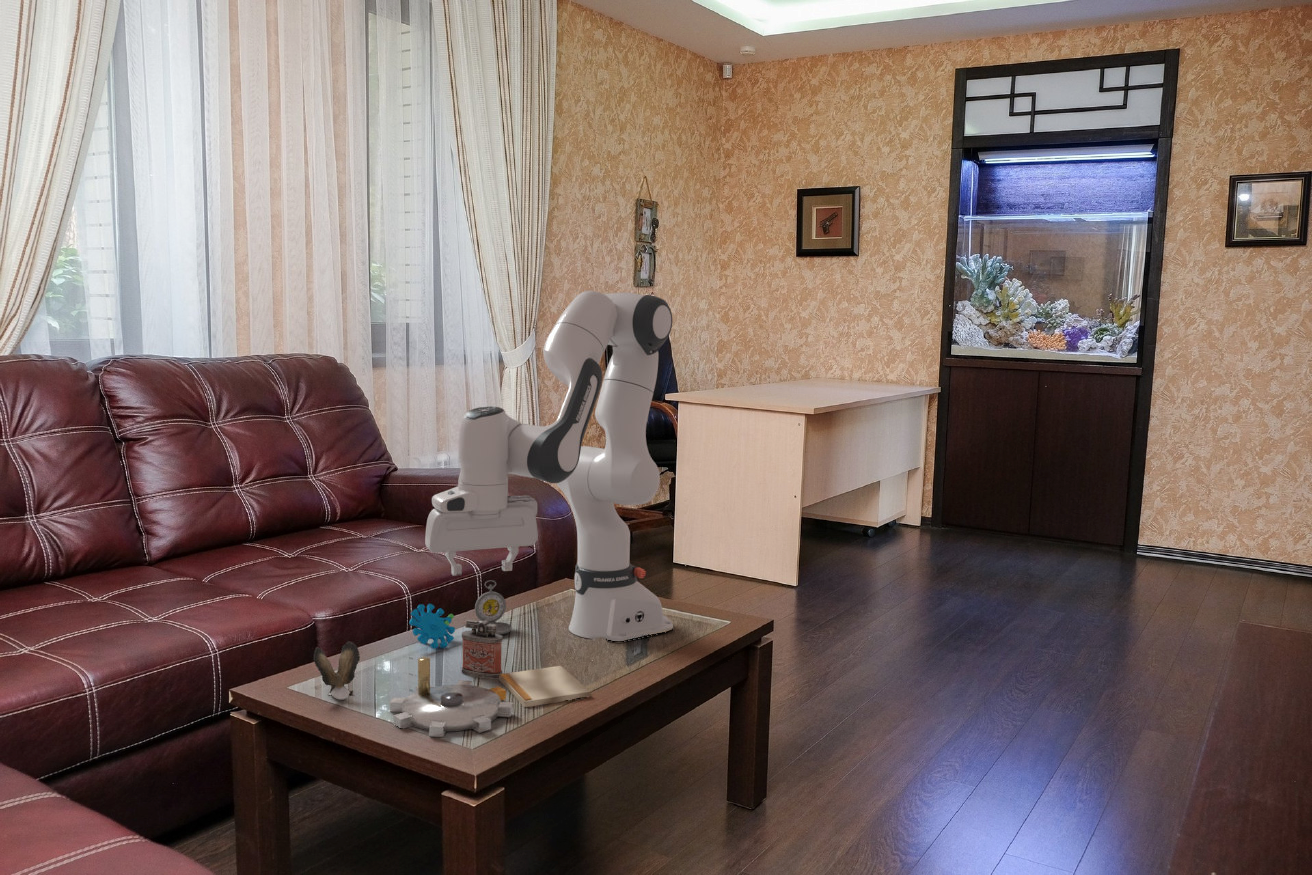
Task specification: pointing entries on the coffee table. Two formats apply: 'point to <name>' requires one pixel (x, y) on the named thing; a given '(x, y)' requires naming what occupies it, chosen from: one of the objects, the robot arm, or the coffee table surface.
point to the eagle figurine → (345, 669)
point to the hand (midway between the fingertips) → (482, 572)
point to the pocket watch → (492, 609)
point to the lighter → (481, 650)
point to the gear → (432, 626)
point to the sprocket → (449, 705)
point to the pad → (543, 686)
